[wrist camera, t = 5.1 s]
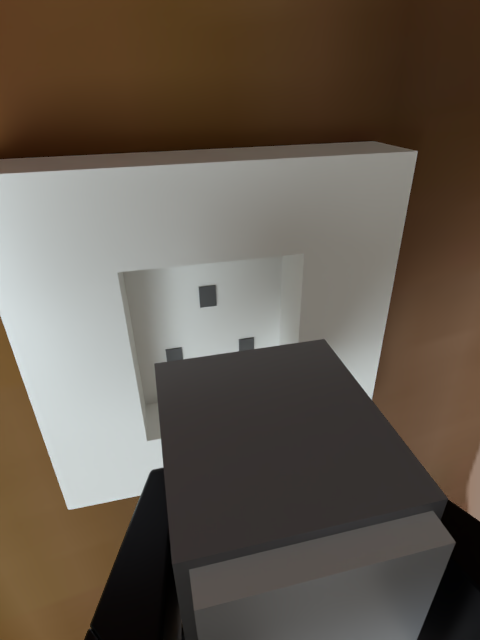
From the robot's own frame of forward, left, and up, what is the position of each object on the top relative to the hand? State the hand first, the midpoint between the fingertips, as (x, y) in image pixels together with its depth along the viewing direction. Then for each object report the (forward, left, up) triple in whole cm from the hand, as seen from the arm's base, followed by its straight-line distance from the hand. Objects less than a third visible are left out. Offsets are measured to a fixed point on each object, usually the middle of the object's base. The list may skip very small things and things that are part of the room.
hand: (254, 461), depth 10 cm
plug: (0, 0, -1) cm, 1 cm away
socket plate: (0, 0, -7) cm, 7 cm away
